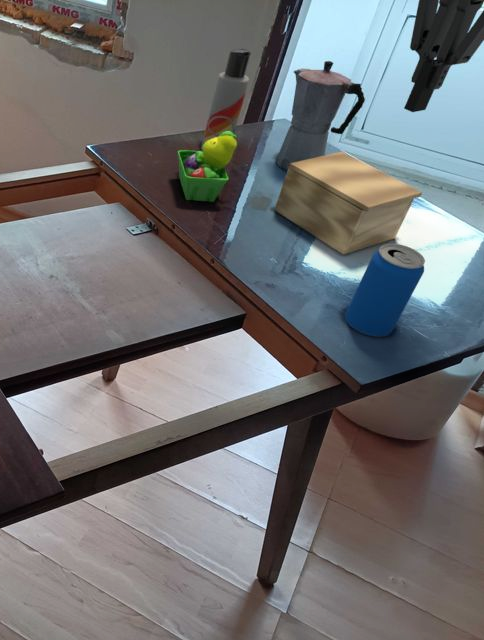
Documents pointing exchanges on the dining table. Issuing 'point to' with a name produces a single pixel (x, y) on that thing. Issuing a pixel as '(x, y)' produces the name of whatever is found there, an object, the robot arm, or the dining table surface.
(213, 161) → the fruit basket
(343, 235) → the chest
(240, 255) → the dining table surface
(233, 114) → the lotion bottle
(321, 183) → the wooden lid
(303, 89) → the moka pot
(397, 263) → the beverage can
